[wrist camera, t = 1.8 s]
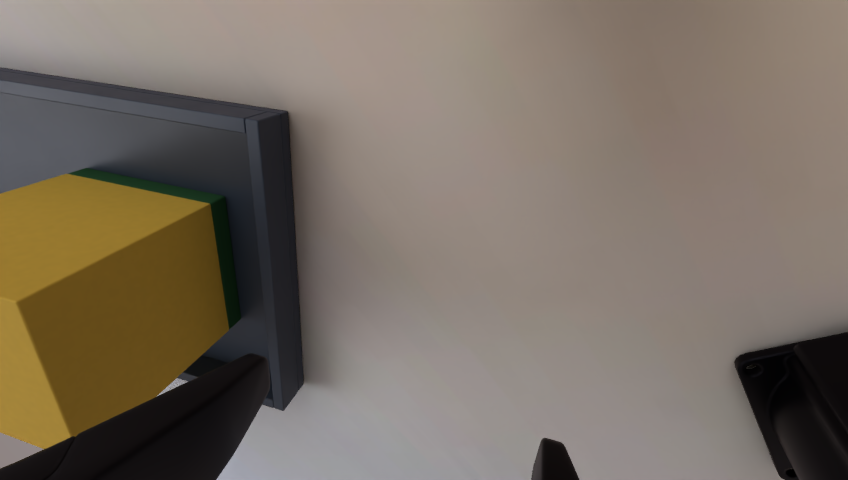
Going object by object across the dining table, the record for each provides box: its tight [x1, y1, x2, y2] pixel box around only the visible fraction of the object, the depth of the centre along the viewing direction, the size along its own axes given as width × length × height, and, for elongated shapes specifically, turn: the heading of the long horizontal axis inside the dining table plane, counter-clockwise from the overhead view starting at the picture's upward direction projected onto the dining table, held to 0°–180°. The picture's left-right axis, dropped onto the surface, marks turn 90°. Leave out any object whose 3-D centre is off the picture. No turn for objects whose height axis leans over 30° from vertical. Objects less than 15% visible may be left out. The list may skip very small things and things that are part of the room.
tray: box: [0, 68, 303, 411], centre depth 24 cm, size 25×15×2 cm, turn 85°
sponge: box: [0, 168, 241, 449], centre depth 19 cm, size 8×7×9 cm
